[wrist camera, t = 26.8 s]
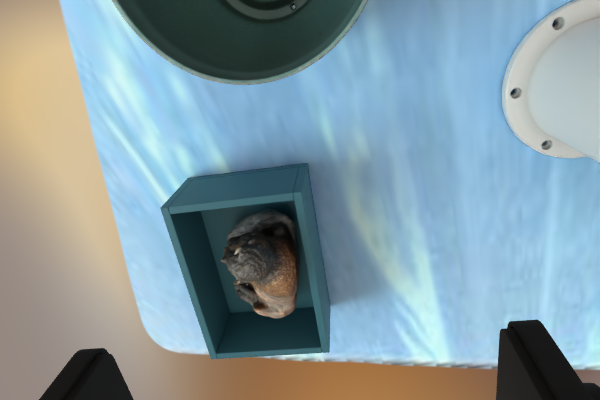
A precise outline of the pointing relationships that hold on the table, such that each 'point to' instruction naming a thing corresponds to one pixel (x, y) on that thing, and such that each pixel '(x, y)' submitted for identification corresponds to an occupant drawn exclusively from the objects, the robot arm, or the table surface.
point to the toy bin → (218, 279)
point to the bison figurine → (265, 262)
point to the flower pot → (241, 34)
